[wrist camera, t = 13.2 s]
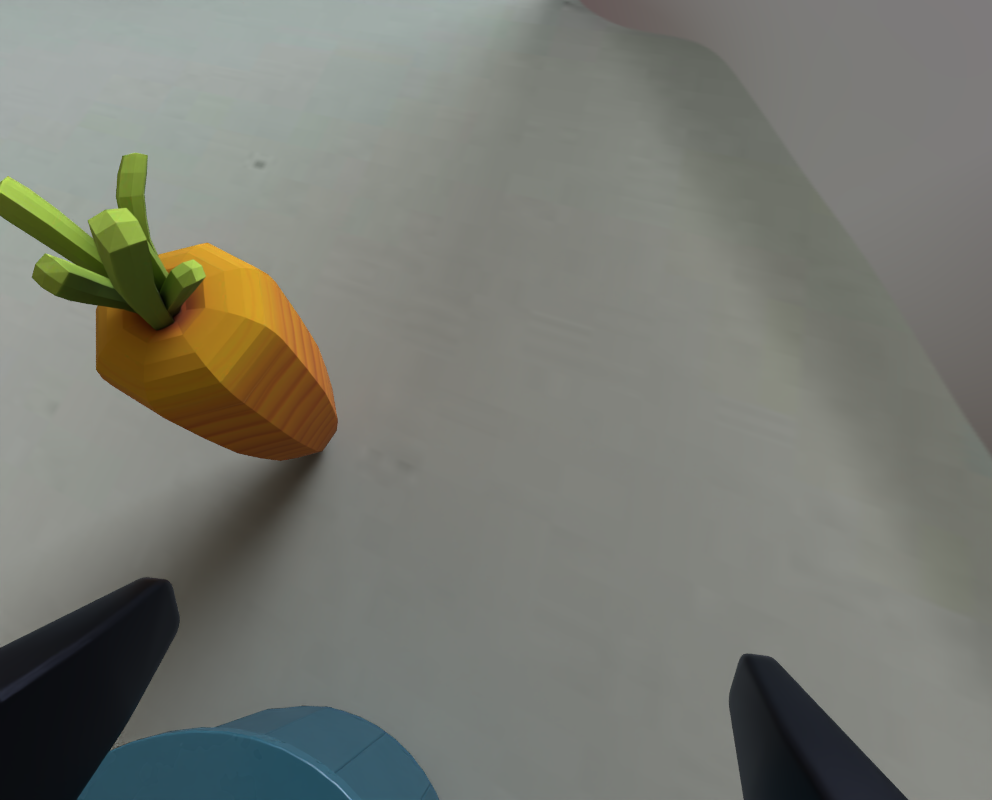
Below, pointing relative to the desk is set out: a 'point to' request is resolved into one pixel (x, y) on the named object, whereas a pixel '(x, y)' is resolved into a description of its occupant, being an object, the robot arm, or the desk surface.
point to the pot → (346, 750)
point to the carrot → (185, 325)
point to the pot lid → (213, 769)
